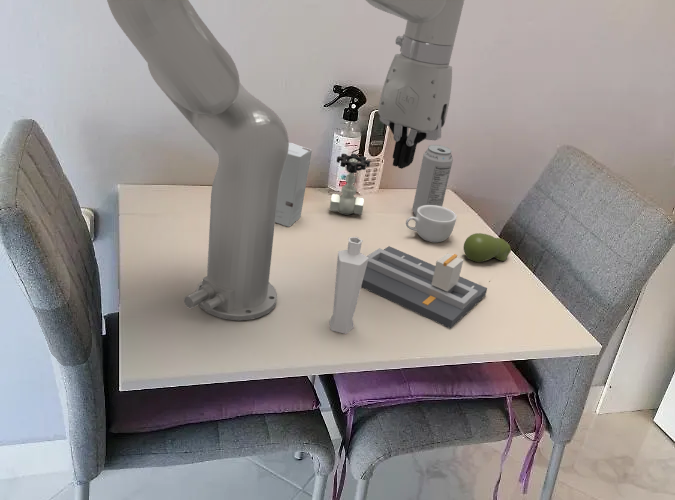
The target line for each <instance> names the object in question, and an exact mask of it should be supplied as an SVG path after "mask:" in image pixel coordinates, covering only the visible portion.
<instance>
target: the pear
mask: <svg viewBox="0 0 675 500" xmlns="http://www.w3.org/2000/svg"><path fill="white" fill-rule="evenodd" d="M511 251H512V248H511V245H510V244H509V243H508V242H507V241H506V240H504V239H503V238H501V237H496V236H492V235H491V234H487V233H481V232H478V233H477V232H476V233H473V234H470V235H469V236H468V237H467V238H466V239H465V241H464V242H463V252H464V254H465V256H466V258H467V259H469V260H471V261H473V262H476V263H477V262H478V263H481V262H484V261H488V260H491V259H492V258H495V259H497V260H498V261H502V262H503V261H506V260H507V259H508V256H509V255H510V253H511Z"/></svg>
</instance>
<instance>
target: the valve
mask: <svg viewBox="0 0 675 500" xmlns="http://www.w3.org/2000/svg"><path fill="white" fill-rule="evenodd" d="M336 163H338V164H339V165H340V167H341V168H345V169H346V171H347V172H348V174H346V176H345V182H346V183H345V184H344V185H343V186H341V191H340V192H341V193H342V194H336V193H332V194H331V197H330V202H329V203H330V204H329V211H330V212H336V213H340V214H342V215H345V216H349V215H352V214H353V215H357V216H358V215H359V216H362V215H363V212H364V202H365V199H364V198H363V197H360V196H359V197H358V196H356V197H355V195H356V194H357V188H356V187H355V185H354V184H355V183H356V175H355V174H356V173H358V171H362V170H363V171H364V170H366V168H368V167H370V165H371V161H370V160H367V157H366V156H365V155H362V156H357V154H356V153H351V154H350V155H348V154H347V153H341V154H340V155H339V156H336Z"/></svg>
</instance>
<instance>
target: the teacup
mask: <svg viewBox="0 0 675 500" xmlns="http://www.w3.org/2000/svg"><path fill="white" fill-rule="evenodd" d="M457 218H458V217H457V213H455V212H454V211H453V210H452V209H450V208H448V207H445V206H443V205H442V206H437V205H423V206H420V207H419V208H418V209H417V214H416V216H410V217H408V218H407V219H406V220H405V226H406V228H407V229H409V230H411V231H413V232H417V234H418V236H419V237H420V238H421V239H423V240H424V241H426V242H430V243H440V242H441V243H442V242H444V241H446V240H447V239H448V238H449V237H450V236H451V235H452V234H453V233H452V232H453V231H454V227H455V224H456V221H457ZM411 220H413V221H414V222H415V224H414V225H415V226H413V227H412V226H409V223H410V221H411Z"/></svg>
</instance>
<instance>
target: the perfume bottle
mask: <svg viewBox="0 0 675 500" xmlns="http://www.w3.org/2000/svg"><path fill="white" fill-rule="evenodd" d="M347 240H348V244H347V248H346V249H342V250H338V251H337V260H336V273H335V282H334V283H335V285H334V286H335V287H334V295H333V308H332V315H331V317H330V319H329V328H330V331H333V332H335V333H336V332H337V333H342V334H345V335H346V334H348V333H349V332H350V331H352V330H353V329H354V326H355V325H354V315H355V312H356V308H357V304H358V300H359V296H360V292H361V289H362V287H361V285H362V282H363V278H364V274H365V270H366V266H367V263H368V259H369V258H368V257H367V256H368V255H365V254H364V253H362V252H361V248H362V243H363V239H361V238H359V237H357V236H349V237H348V239H347Z"/></svg>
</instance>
